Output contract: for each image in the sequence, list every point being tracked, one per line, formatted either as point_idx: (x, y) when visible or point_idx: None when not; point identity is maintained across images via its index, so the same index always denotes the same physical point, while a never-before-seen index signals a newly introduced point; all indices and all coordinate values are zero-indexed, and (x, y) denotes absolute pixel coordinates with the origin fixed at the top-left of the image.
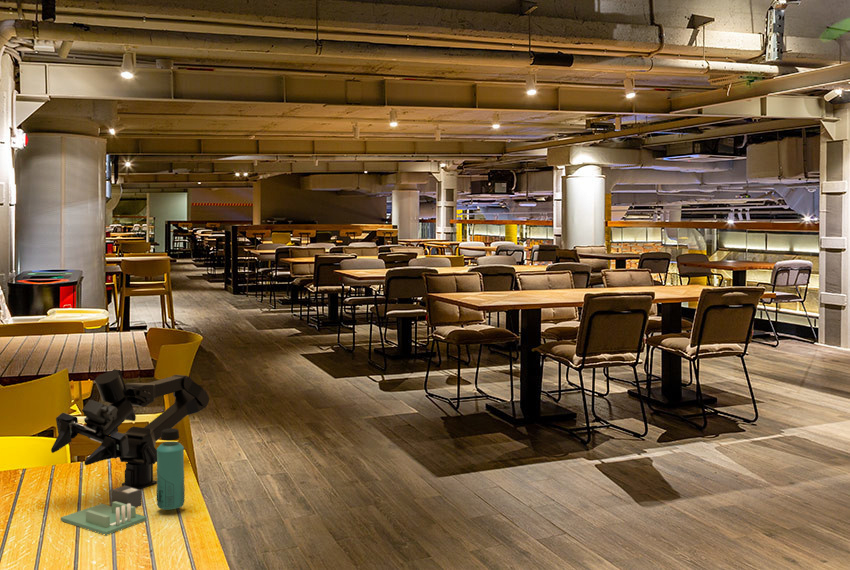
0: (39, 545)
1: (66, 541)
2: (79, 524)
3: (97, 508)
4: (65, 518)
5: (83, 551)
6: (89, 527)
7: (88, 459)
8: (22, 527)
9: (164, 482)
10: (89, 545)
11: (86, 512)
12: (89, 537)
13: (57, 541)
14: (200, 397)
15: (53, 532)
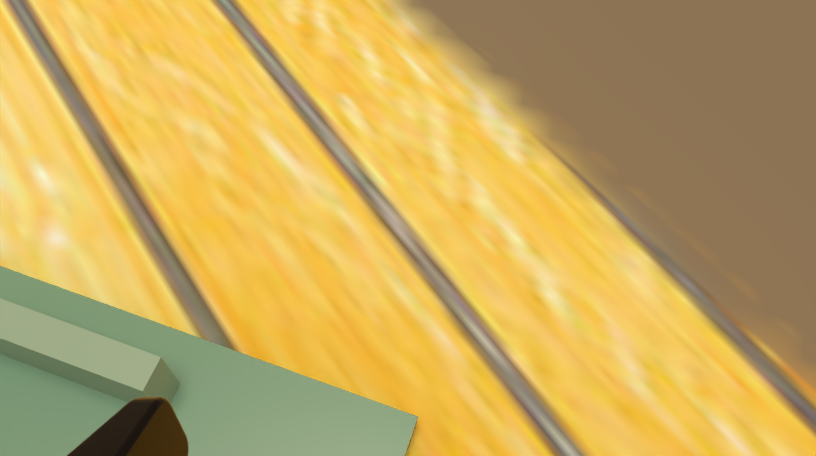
0: (292, 82)
1: (174, 146)
2: (209, 342)
3: None
4: (366, 403)
5: (14, 62)
6: (108, 307)
7: (93, 440)
8: (575, 266)
9: None
10: (12, 126)
11: (155, 357)
12: (61, 217)
13: (226, 138)
14: None
15: (331, 238)
